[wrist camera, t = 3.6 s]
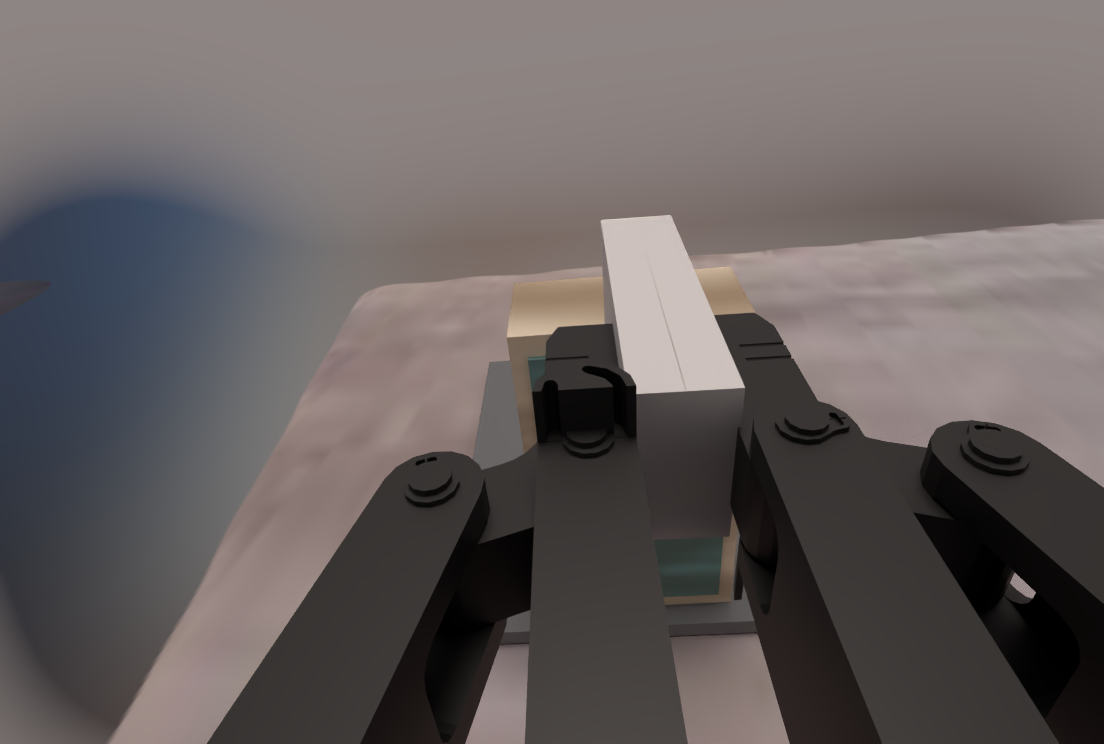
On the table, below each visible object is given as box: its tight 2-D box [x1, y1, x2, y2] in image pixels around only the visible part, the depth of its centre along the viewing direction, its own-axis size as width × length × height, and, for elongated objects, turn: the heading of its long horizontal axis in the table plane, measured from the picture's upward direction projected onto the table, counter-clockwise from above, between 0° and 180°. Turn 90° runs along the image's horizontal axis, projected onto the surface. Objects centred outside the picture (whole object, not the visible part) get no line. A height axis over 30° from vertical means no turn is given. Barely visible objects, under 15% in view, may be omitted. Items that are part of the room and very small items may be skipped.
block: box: [507, 267, 755, 605], centre depth 26 cm, size 4×8×14 cm, turn 89°
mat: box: [473, 361, 757, 644], centre depth 37 cm, size 22×17×1 cm
